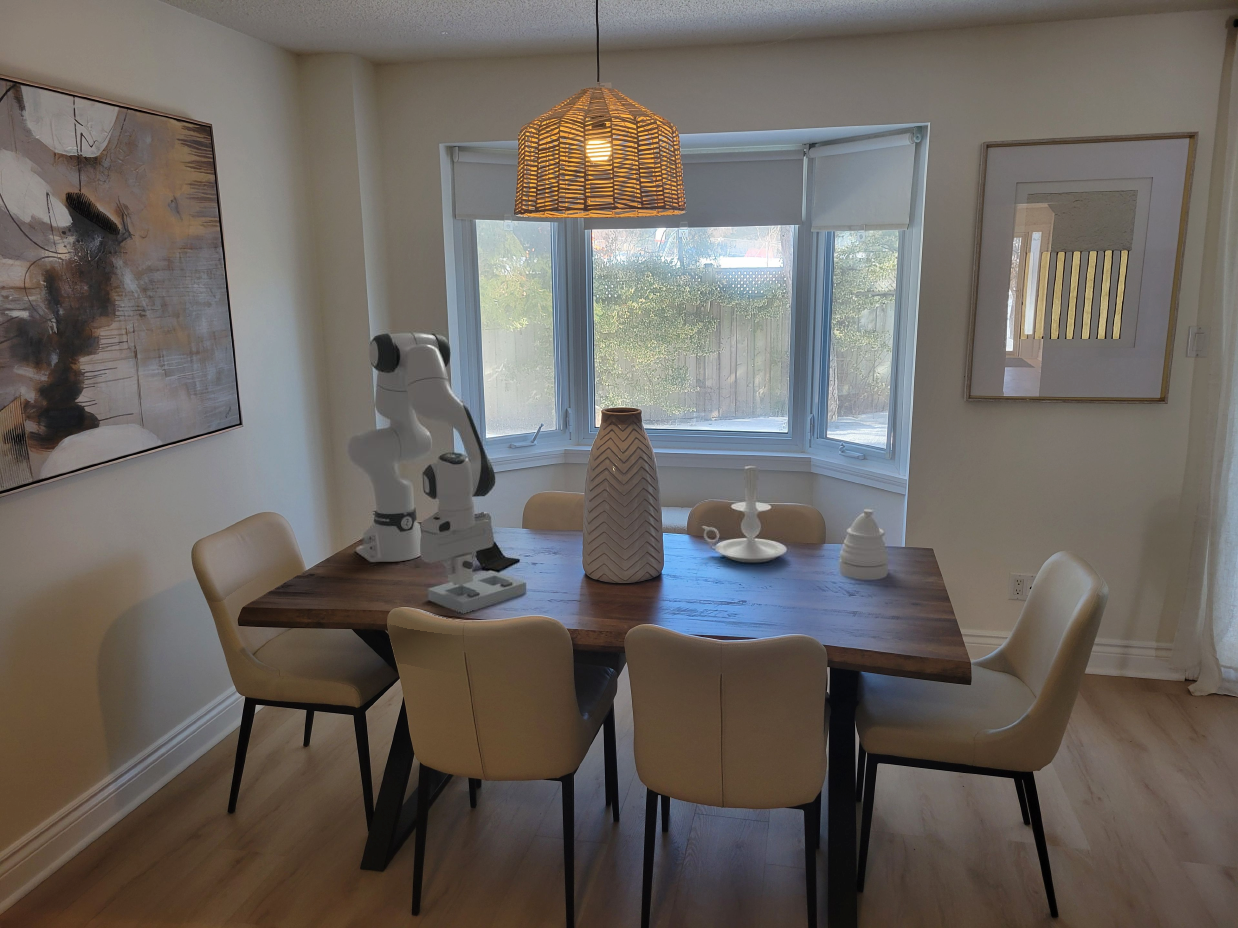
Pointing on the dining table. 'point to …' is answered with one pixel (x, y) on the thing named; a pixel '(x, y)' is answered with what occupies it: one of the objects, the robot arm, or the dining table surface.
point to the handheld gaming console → (494, 559)
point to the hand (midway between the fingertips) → (459, 571)
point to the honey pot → (864, 550)
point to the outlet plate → (477, 592)
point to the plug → (461, 569)
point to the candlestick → (748, 529)
